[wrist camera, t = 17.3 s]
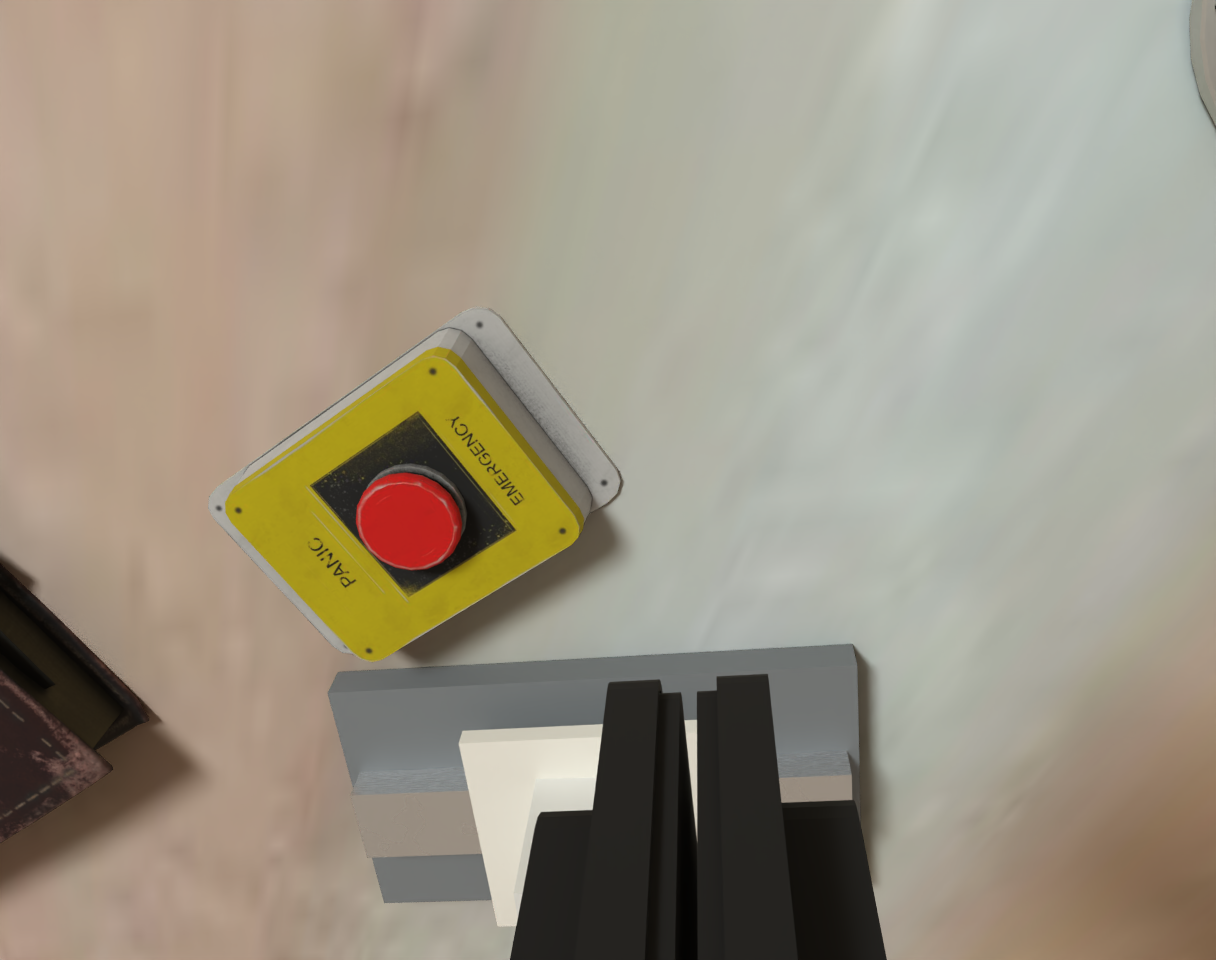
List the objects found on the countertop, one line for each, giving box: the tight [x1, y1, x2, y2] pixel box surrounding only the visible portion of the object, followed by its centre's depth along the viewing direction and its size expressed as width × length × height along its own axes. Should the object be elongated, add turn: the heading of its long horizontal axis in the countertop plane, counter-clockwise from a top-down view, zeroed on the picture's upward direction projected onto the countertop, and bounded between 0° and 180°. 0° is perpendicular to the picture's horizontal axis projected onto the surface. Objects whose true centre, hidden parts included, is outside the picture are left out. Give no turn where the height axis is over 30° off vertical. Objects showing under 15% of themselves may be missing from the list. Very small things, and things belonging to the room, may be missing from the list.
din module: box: [514, 777, 596, 916], centre depth 42 cm, size 4×6×6 cm
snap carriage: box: [459, 720, 697, 926], centre depth 46 cm, size 10×11×2 cm
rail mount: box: [328, 644, 861, 903], centre depth 47 cm, size 22×12×3 cm, turn 97°
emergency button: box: [208, 307, 621, 662], centre depth 42 cm, size 9×4×15 cm
